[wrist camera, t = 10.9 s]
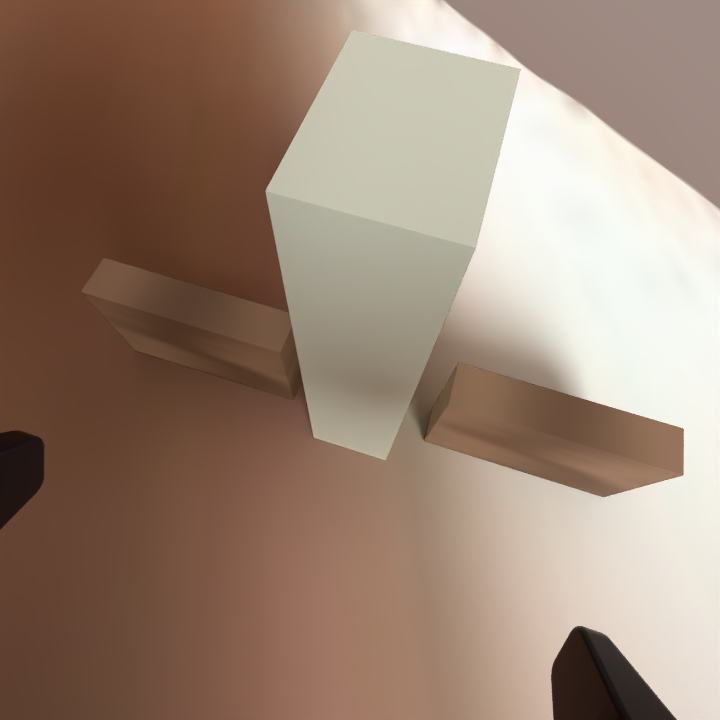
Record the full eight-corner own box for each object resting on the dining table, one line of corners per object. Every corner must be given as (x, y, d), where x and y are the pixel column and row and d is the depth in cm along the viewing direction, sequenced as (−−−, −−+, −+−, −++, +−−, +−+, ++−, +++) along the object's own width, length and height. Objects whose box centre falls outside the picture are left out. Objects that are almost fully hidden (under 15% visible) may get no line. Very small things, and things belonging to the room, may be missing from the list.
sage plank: (385, 460, 18) (476, 247, 6) (313, 437, 18) (266, 191, 6) (411, 371, 19) (520, 68, 8) (344, 352, 20) (352, 30, 8)
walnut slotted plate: (606, 460, 18) (683, 428, 14) (603, 497, 18) (683, 475, 13) (152, 321, 20) (104, 257, 16) (135, 350, 19) (80, 291, 15)
